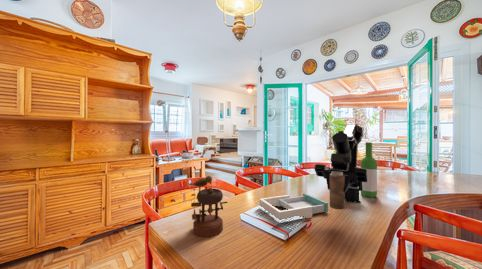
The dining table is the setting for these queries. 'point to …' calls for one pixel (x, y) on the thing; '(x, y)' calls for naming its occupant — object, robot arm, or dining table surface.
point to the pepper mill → (337, 190)
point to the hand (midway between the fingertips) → (336, 190)
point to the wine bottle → (369, 173)
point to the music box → (207, 223)
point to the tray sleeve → (284, 214)
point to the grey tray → (305, 203)
